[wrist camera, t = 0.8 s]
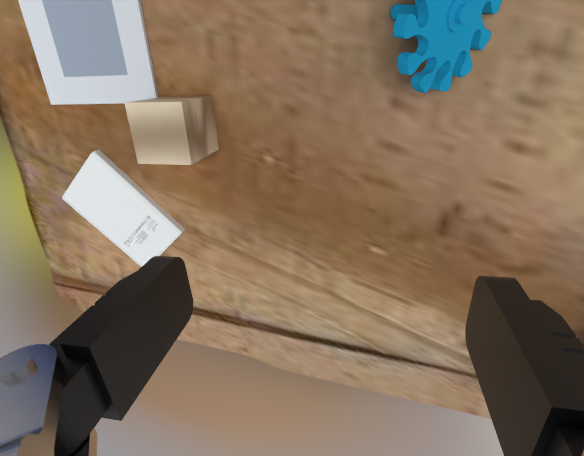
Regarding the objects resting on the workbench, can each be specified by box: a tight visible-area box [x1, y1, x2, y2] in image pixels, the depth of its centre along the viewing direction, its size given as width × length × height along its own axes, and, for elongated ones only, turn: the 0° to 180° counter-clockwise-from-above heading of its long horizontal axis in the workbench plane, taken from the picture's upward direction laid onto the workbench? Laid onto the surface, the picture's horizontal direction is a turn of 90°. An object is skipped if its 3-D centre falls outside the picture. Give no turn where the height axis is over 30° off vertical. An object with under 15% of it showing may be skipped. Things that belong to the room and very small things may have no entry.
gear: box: [391, 0, 502, 93], centre depth 24 cm, size 11×6×10 cm
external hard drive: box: [62, 149, 185, 267], centre depth 39 cm, size 2×8×12 cm
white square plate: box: [18, 0, 158, 105], centre depth 31 cm, size 12×12×1 cm
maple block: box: [125, 96, 219, 165], centre depth 30 cm, size 5×5×6 cm
